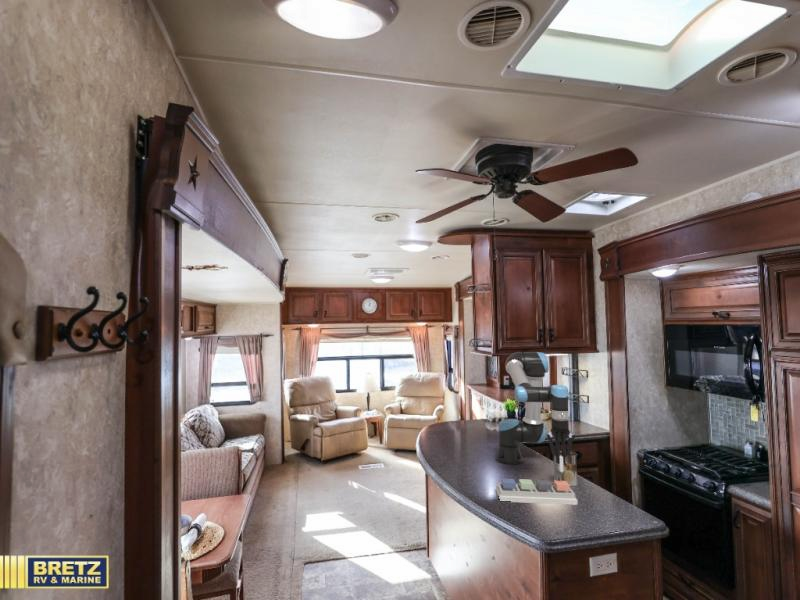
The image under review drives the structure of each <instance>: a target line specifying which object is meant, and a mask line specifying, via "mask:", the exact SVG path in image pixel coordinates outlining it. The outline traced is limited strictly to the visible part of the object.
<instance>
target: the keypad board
mask: <svg viewBox="0 0 800 600" xmlns="http://www.w3.org/2000/svg"><path fill="white" fill-rule="evenodd" d="M551 485H552V490H539V489H538V487H537V486H536V484H534V490H531V489H521V487H520V486H519V483H516V489H505V488H503V486H502V482H498V483H497V485H495V491H497V492H496V495H497V497H498V496H499V497H498V499H500V500H499V502H500V501H511V502H510V503H525V504H526V503H527V504H529V503H530V504H549V505H551V504H552V505H553V504H554V505H573V506H574V505H575V506H576V505H577V506H578V503H579V502H578V499H577V497H576V494H575V492H574V491H573V490H572V488H571V487H570V491H557V490H556V488H555V487H554V484H551Z"/></svg>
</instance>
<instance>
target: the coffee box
mask: <svg viewBox="0 0 800 600" xmlns="http://www.w3.org/2000/svg"><path fill="white" fill-rule="evenodd" d="M555 452H556V450H555ZM565 452H566V449H565ZM560 456H562V455H561V450H560ZM577 463H578V462H577V453H576V452H574V451H572V450H571V451H570V455H569V456H566V457H565V464H563V472H560V471H559V470H558V464H557V463H556V456H555V455H553V471H554V472H553V473H554V474H553V475H554V479H553V481H554V480H555V481H566V482H567V483H568V484H569V485H570V487H577V486H578V470H577V469H578V465H577Z"/></svg>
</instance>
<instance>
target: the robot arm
mask: <svg viewBox="0 0 800 600" xmlns="http://www.w3.org/2000/svg"><path fill="white" fill-rule="evenodd" d="M504 368H505V371H506V373H507V374H509V375H510V377H511V380H512V382H513V385H514V387H515V388H514V393H513V394H514V400H515V401H516V402H518V403H519V402H520V403H525V413H524V414H525V415H524V416H523V418H522V421H519V420H518V419H517V418H506V419H502V420H500V421H499V423H498V447H497V450H496V455H495V461H496V462H498V463H502V464H508V465H517V464H521V463H522V462H523V456H522V452H521V449H520V443H521V444H523V443H524V444H525V443H527V444H529V443H530V444H541V443H544V442H545V440H546V437H547V440H548V443H549V447H550V451H551V454H552V455H553V456H554V455H555V456H556V463H557V464H558V470H559V471H560V472H563V464H565V457H566V456H569V455H570V451H572V450H571V449H572V445H573V441H574V440H575V438H576V436H575V434H574V433H571V431H570V425H569V423H570V421H569V388H568V386H566V385H563V384H562V385H561V384H553V385H547V386H542V384H543V383H542V382H543V381H542V380H543V379H544V378H545V377H546V373H548V372H549V369H550V367H549V361H548V358H547V354H545V353H544V352H538V351H517V352H514V353H511V354H510V355H509V356H508V357H507V358H506V360H505V363H504ZM542 403H550V404H551V405H550V406H551V410H550V411H551V429H550V431H549V432H548V433H547V425H546V423H545V422H544V420H543V418H541V416H542V413H541V412H542ZM553 437H554V441H555V446H554V442H553ZM567 438H568V440H567V441H566V439H567ZM566 442H567V444H566ZM560 443H561V444H560ZM560 448H561V449H560ZM565 450H566V452H565ZM555 451H556V452H555ZM560 451H561V455H562V456H560Z"/></svg>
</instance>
